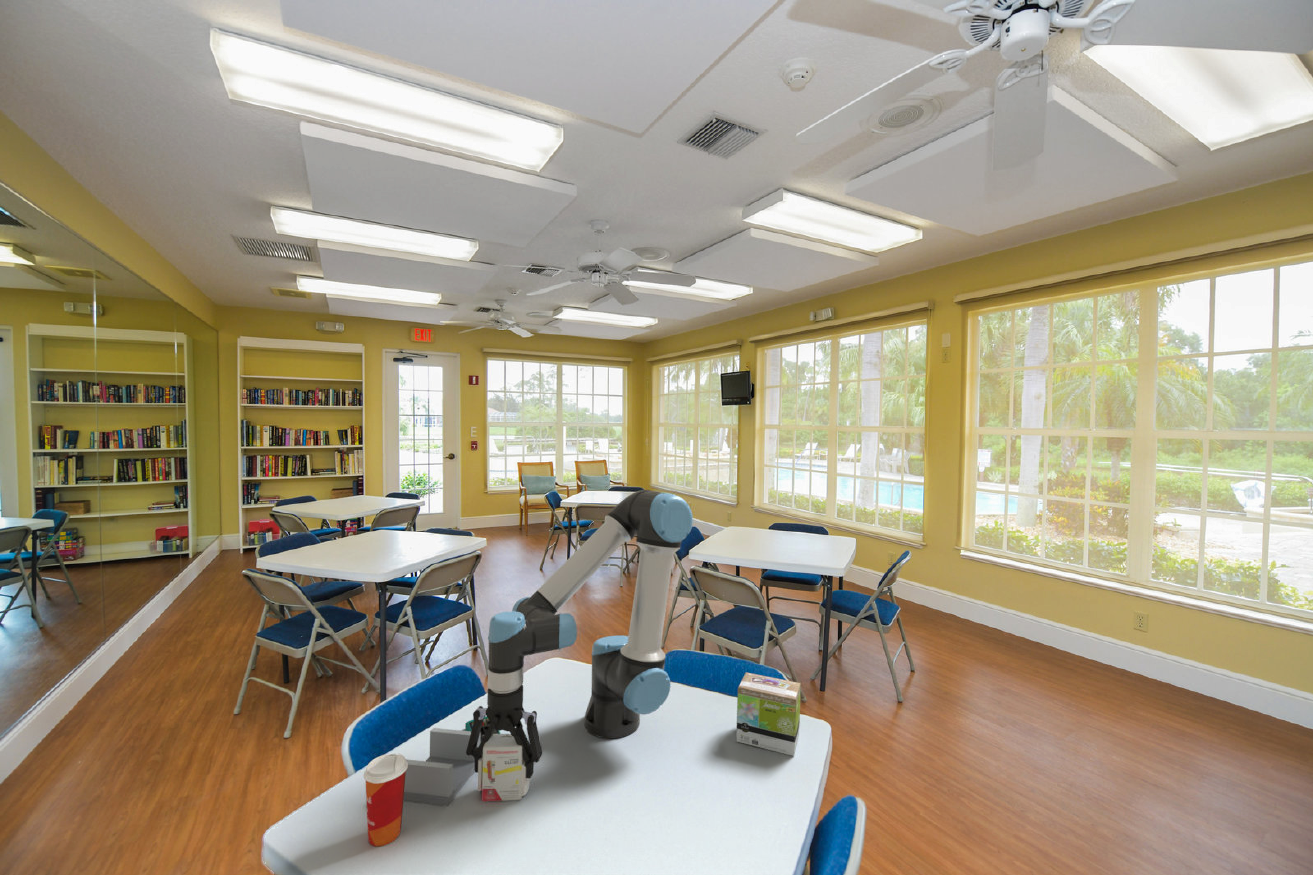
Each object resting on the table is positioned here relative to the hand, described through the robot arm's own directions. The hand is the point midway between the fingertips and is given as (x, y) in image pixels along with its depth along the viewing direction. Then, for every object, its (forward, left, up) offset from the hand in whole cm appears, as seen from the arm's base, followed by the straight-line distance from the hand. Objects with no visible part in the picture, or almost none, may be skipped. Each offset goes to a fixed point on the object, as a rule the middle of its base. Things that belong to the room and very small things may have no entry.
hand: (503, 789), depth 114 cm
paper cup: (+17, +15, -1) cm, 23 cm away
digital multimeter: (+14, -19, -2) cm, 23 cm away
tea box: (-59, -31, -1) cm, 67 cm away
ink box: (0, 0, -1) cm, 1 cm away
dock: (+16, -2, -1) cm, 16 cm away
